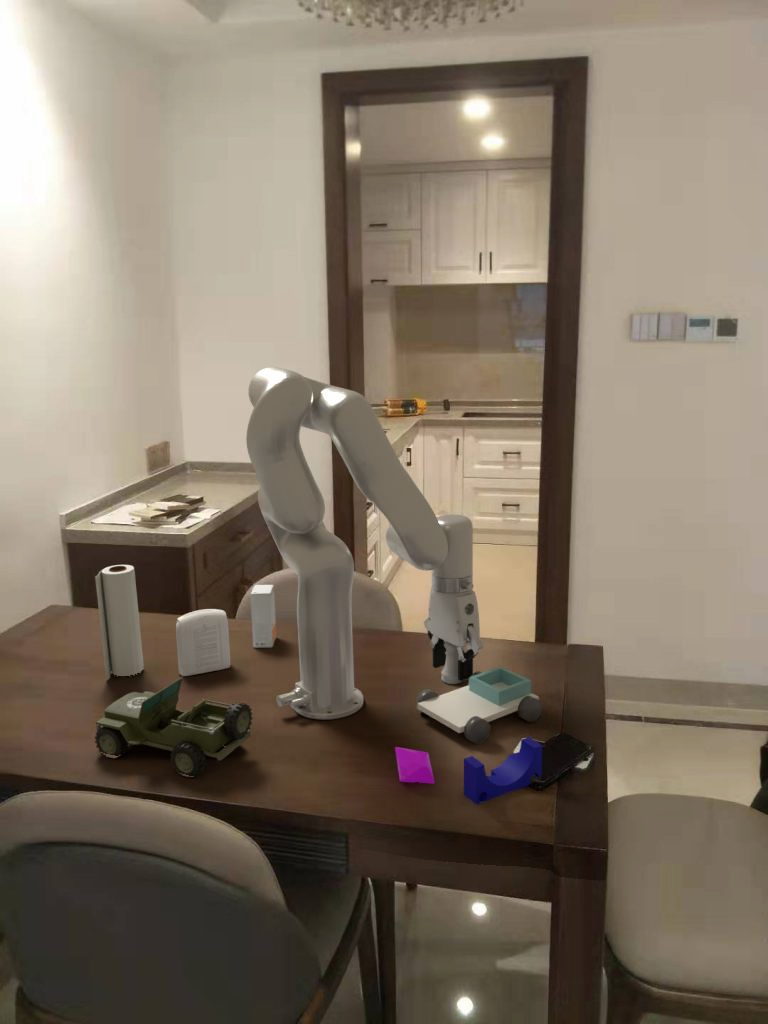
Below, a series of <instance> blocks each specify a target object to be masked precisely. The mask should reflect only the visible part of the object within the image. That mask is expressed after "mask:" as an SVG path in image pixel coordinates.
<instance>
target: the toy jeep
mask: <svg viewBox="0 0 768 1024" xmlns="http://www.w3.org/2000/svg"><path fill="white" fill-rule="evenodd" d="M183 679H184V676H181V677H179V678H177V679H176V680H174V681H173V682H171V683H170V684H168V685H167V686H165V687H163V688H162V689H160V690H159V691H157V692H151V691H143V692H137V691H132V692H129V693H127V694H124V695H123V696H122V697H120V698H118V699H116V700H115V701H114V702H112V703H111V704H110V705H109V706H107V707H106V708H105V709H104V716H103V717H102V718H100V719H99V720H97V721H96V722H95V724H96V732H95V736H94V739H95V740H94V743H95V744H96V745H95V746H96V748H98V752H99V753H101V752H103V753H105V754H110V755H115V756H119V755H122V756H123V755H125V753H126V752H127V751H128V749H129V745H135V746H137V745H146V746H149V747H154V748H158V749H160V750H161V749H162V750H166V751H169V752H170V754H169V757H170V758H169V759H170V762H171V763H170V765H171V766H172V767H173V770H174V771H175V772H179V773H182V774H186V775H189V776H194V777H193V778H195V777H197V776H199V775H200V774H201V773H202V772H203V771H204V769H205V767H206V762H207V760H206V756H207V757H211V758H216V759H217V761H220V762H221V761H222V760H223V759H225V758H226V757H227V756H228V755H229V754H230V753H232V752H233V751H234V750H235V749H236V748H238V747H239V746H240V745H242V744H243V743H244V742H245V741H246V740H248V739H249V738H251V730H250V729H251V727H250V726H252V723H253V722H252V721H253V716H252V715H253V712H252V708H251V706H250V705H248V704H246V703H244V702H240V701H239V702H234V703H233V702H232V704H229V703H224V702H219V701H213V700H209V699H206V698H201V699H200V701H199V702H197V703H196V704H194V705H193V707H192V709H191V708H188V709H187V710H186V711H184V710H183V711H182V710H180V709H177V704H178V702H179V699H180V698H179V694H180V690H181V686H182V683H183ZM223 745H224V746H226V747H224V746H223ZM222 747H223V748H222ZM221 748H222V749H221ZM218 750H220V751H218ZM217 751H218V752H217Z"/></svg>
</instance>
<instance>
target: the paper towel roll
mask: <svg viewBox="0 0 768 1024" xmlns="http://www.w3.org/2000/svg"><path fill="white" fill-rule="evenodd" d="M135 573H136V572H135V566H133V565H130V564H116V565H110V566H107V567H105V568H103V569H101V570H100V571H99V572H98V574H97V575H95V577H94V578H95V587H96V598H97V599H96V600H97V605H98V606H97V607H98V614H99V615H98V617H99V625H100V626H99V627H100V636H101V643H102V644H101V645H102V652H103V661H104V671H105V672H104V673H105V680H106V679H107V678H108V677H109V676H110V677H111V675H110V673H111V671H112V673H111V674H114V675H113V676H115V675H117V676H116V677H118V676H129V677H131V676H130V675H133V676H136V675H138V674H137V673H139V674H141V673H142V672H143V671H144V668H145V667H144V657H143V655H144V654H143V648H142V647H143V646H142V635H141V625H140V623H141V622H140V616H139V615H140V614H139V605H138V604H139V603H138V593H137V585H136V574H135ZM142 670H143V671H142ZM141 671H142V672H141ZM135 674H136V675H135ZM110 677H109V678H110ZM107 680H108V679H107Z"/></svg>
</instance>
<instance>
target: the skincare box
mask: <svg viewBox="0 0 768 1024" xmlns="http://www.w3.org/2000/svg"><path fill="white" fill-rule="evenodd" d="M251 590H252V591H251V592H250V595H249V596H250V597H249V598H250V614H251V633H252V648H255V649H256V648H257V649H258V648H260V649H261V648H273V647H274V644H275V641H276V639H277V627H276V626H277V623H276V602H275V586H274V584H255V585H253V588H252V589H251Z"/></svg>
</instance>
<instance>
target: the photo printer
mask: <svg viewBox="0 0 768 1024" xmlns="http://www.w3.org/2000/svg"><path fill="white" fill-rule="evenodd" d="M175 623H176V624H175V625H176V626H175V635H176V650H177V661H178V662H177V663H178V673H179V675H181V677H188V676H194V675H199V674H205V673H210V672H214V671H220V670H225V669H229V668H230V667H231V651H230V650H231V649H230V634H229V633H230V632H229V620H228V616H227V613H226V611H225V610H222V609H217V608H205V609H198V610H195V611H192V612H191V611H190V612H188V613H184V614H183V615H181V616H180V617H179V616H178V618H176V622H175Z"/></svg>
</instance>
